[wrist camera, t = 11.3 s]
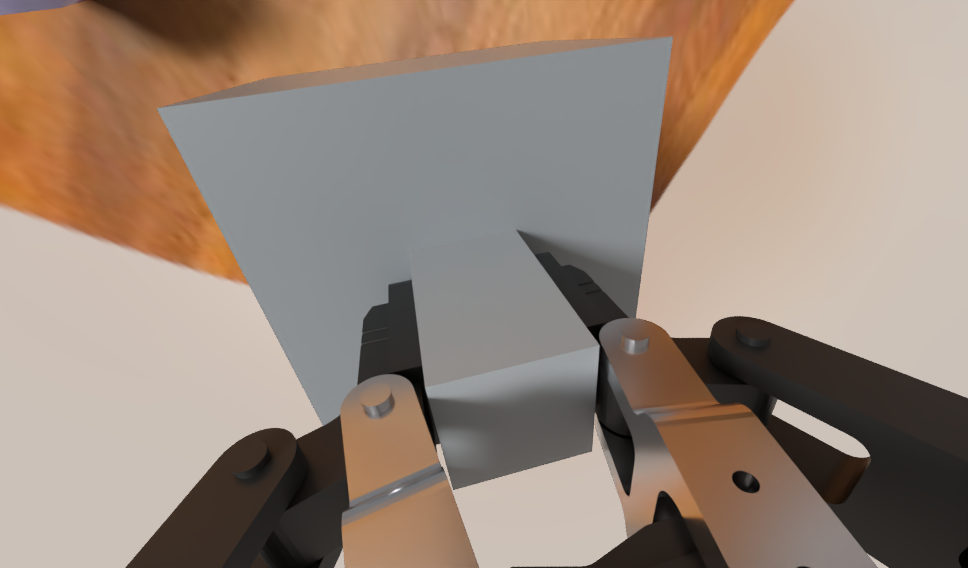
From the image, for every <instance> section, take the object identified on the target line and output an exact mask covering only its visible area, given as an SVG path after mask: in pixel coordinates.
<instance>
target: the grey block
mask: <svg viewBox="0 0 968 568" xmlns="http://www.w3.org/2000/svg"><path fill="white" fill-rule="evenodd" d="M672 40H673V37H645V38H616V39H587V40H558V41H540V42H532V43H525V44H517V45H510V46H502V47H495V48H488V49H480V50H473V51H465V52H458V53H450V54H443V55H436V56H428V57H421V58H413V59H406V60H398V61H391V62H384V63H376V64H369V65H361V66H354V67H346V68H339V69H331V70H324V71H317V72H309V73H302V74H294V75H287V76H279V77H272V78H266V79H262V80H259V81H255V82H251V83H248V84H244V85H241V86H237V87H233V88H230V89H226V90H222V91H219V92H215V93H211V94H208V95H204V96H200V97H197V98H193V99H189V100H186V101H182V102H178V103H175V104H171V105H167V106H164V107H160V108H157V110H158V112H159V114H160V116H161V117H162V119H163V121H164V123H165V125H166V127H167V129H168V131H169V133H170V135H171V137H172V138H173V140H174V142H175V144H176V146H177V148H178V150H179V152H180V154H181V156H182V158H183V159H184V161H185V163H186V165H187V167H188V169H189V171H190V173H191V175H192V177H193V179H194V180H195V182H196V184H197V186H198V188H199V190H200V192H201V194H202V196H203V198H204V200H205V201H206V203H207V205H208V207H209V209H210V211H211V213H212V215H213V217H214V219H215V221H216V222H217V224H218V226H219V228H220V230H221V232H222V234H223V236H224V238H225V240H226V242H227V243H228V245H229V247H230V249H231V251H232V253H233V255H234V257H235V259H236V261H237V263H238V264H239V266H240V268H241V270H242V272H243V274H244V276H245V278H246V280H247V282H248V284H249V285H250V287H251V289H252V291H253V293H254V295H255V297H256V299H257V301H258V303H259V304H260V306H261V308H262V310H263V312H264V314H265V316H266V318H267V320H268V322H269V324H270V326H271V327H272V329H273V331H274V333H275V335H276V337H277V339H278V341H279V343H280V345H281V347H282V348H283V350H284V352H285V354H286V356H287V358H288V360H289V362H290V364H291V366H292V368H293V369H294V371H295V373H296V375H297V377H298V379H299V381H300V383H301V385H302V387H303V388H304V390H305V392H306V394H307V396H308V398H309V400H310V402H311V404H312V405H313V408H314V409H315V411H316V413H317V415H318V417H319V419H320V421H321V423H322V425H323V426H324V425H326V424H327V423H329V422H331V421H332V420H334V419H335V418H337V417H338V416H339V415H340V409H341V405H342V403H343V401H344V399H345V397H346V396H347V395H348V393H349V392H350V391H351V390H352V389H353V388H355V387H356V386H357V382H358V371H359V360H360V349H361V346H362V345H361V339H362V335H363V334H362V328H363V319H364V317H365V316H366V315H367V313H368V312H369V310H370V309H371V308H372V306H376V305H381V304H386V303H388V285H389V284H393V283H398V282H403V281H407V280H412V286H413V294H414V302H415V310H416V318H417V326H418V335H419V343H420V351H421V359H422V367H423V375H424V383H425V389H426V393H427V397H428V400H429V404H430V408H431V411H432V415H433V418H434V422H435V426H436V429H437V433H438V436H439V440H440V444H441V447H442V451H443V455H444V458H445V462H446V465H447V469H448V472H449V476H450V479H451V483H452V487H453V490H455V489H458V488H462V487H466V486H469V485H473V484H477V483H480V482H484V481H487V480H491V479H494V478H498V477H502V476H505V475H508V474H512V473H516V472H519V471H523V470H526V469H530V468H533V467H537V466H541V465H544V464H548V463H552V462H555V461H559V460H562V459H566V458H569V457H573V456H576V455H580V454H584V453H587V452H591V451H592V444H593V429H594V416H595V402H596V388H597V374H598V361H599V347H600V345H599V344H598V342H597V341H596V340H595V338H594V337H593V335H592V334H591V333H590V331H589V330H588V329H587V327H586V326H585V324H584V323H583V322H582V320H581V319H580V318H579V316H578V315H577V313H576V312H575V311H574V309H573V308H572V307H571V305H570V304H569V302H568V301H567V300H566V298H565V297H564V295H563V294H562V293H561V291H560V290H559V289H558V287H557V286H556V284H555V283H554V282H553V280H552V279H551V278H550V276H549V275H548V273H547V272H546V271H545V269H544V268H543V267H542V265H541V264H540V262H539V261H538V260H537V258H536V257H535V255H534V254H539V253H543V252H549V253H550V254H551V255H552V256H553V257H554V258H555V259H556V260H557V262H558V263H559V264H560V265H561V266H565V265H572V266H574V267H576V268H578V269H581V270H583V271H585V272H586V273H587V274H588V275H589V276H590V277H591V278H592V280H593V281H594V283H596V284H597V285H598V286H599V287H600V288H601V289H602V292H603V291H604V292H605V293H606V294H607V295H608V296H609V297H610V298H611V299H612V300H613V301H614V302H615V304H616V305H617V306H618V307H619V308H620V309H621V310H622V311H623V312H624V313H625V314H626V315H627V316H628V317H629V318H636V311H637V304H638V296H639V288H640V281H641V273H642V266H643V258H644V251H645V243H646V236H647V228H648V221H649V213H650V206H651V198H652V191H653V183H654V175H655V168H656V160H657V153H658V145H659V138H660V130H661V123H662V115H663V108H664V100H665V92H666V85H667V77H668V70H669V62H670V55H671V47H672Z"/></svg>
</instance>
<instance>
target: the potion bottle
mask: <svg viewBox="0 0 968 568" xmlns="http://www.w3.org/2000/svg"><path fill="white" fill-rule="evenodd" d="M81 1H85V0H0V15H5V14H13V13H21V12H30V11H38V10H46V9H54V8H62V7H65V6H68V5H72V4H75V3H78V2H81Z"/></svg>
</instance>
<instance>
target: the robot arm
mask: <svg viewBox="0 0 968 568" xmlns="http://www.w3.org/2000/svg"><path fill="white" fill-rule="evenodd" d="M534 255H535V257H536V258H537V260H538V261H539V262H540V264H541V265H542V267H543V268H544V269H545V271H546V272H547V273H548V275H549V276H550V278H551V279H552V280H553V282H554V283H555V284H556V286H557V287H558V289H559V290H560V291H561V293H562V294H563V295H564V297H565V298H566V300H567V301H568V302H569V304H570V305H571V307H572V308H573V309H574V311H575V312H576V313H577V315H578V316H579V318H580V319H581V320H582V322H583V323H584V324H585V326H586V327H587V329H588V330H589V331H590V333H591V334H592V335H593V337H594V338H595V340H596V341H597V342H598V344H599V345H600V347H599V361H598V374H597V388H596V402H595V428H596V431H597V435H598V437H599V440H600V443H601V446H602V449H603V452H604V455H605V458H606V460H607V463H608V466H609V469H610V472H611V475H612V478H613V481H614V484H615V487H616V489H617V492H618V495H619V498H620V501H621V504H622V508H623V511H624V517H625V524H626V532H627V538H628V539H626V540H625V541H624V542H622V543H621V544H619V545H618V546H617V547H615V548H614V549H613V550H611V551H610V552H608V553H607V554H606V555H604V556H603V557H602V558H600V559H599V560H597V561H596V562H595V563H593V564H591V565H588V566H583V567H511V568H878V567H877V566H876V565H875V563H874V562H873V561H872V560H871V559H870V557H869V556H868V555H867V553H868V554H869V555H871V556H872V557H874V558H875V559H877V560H878V561H880V562H881V563H883V564H884V565H886V566H887V567H889V568H968V398H966V397H963V396H960V395H958V394H955V393H952V392H950V391H947V390H945V389H942V388H939V387H937V386H934V385H931V384H929V383H926V382H924V381H921V380H919V379H916V378H913V377H911V376H908V375H906V374H903V373H900V372H898V371H895V370H892V369H890V368H887V367H885V366H882V365H879V364H877V363H874V362H872V361H869V360H866V359H864V358H861V357H859V356H856V355H853V354H850V353H848V352H845V351H843V350H840V349H838V348H835V347H832V346H830V345H827V344H824V343H822V342H819V341H817V340H814V339H811V338H809V337H806V336H803V335H801V334H798V333H796V332H793V331H791V330H788V329H785V328H783V327H780V326H777V325H775V324H772V323H770V322H767V321H764V320H761V319H756V318H751V317H743V316H742V317H741V316H737V317H736V316H735V317H727V318H724V319H721V320H719V321H718V322H716V323H715V324H714V326H713V328H712V331H711V336H710V338H671V337H670V336H669V335H668V333H667V332H666V331H665V330H664V329H663V328H661V327H660V326H658V325H656V324H654V323H652V322H649V321H646V320H642V319H636V318H629V317H628V316H627V315H626V314H625V313H624V312H623V311H622V310H621V309H620V308H619V307H618V306H617V305H616V304H615V302H614V301H613V300H612V299H611V298H610V297H609V296H608V295H607V294H606V293H605V292H604V291H603V292H602V289H601V288H600V287H599V286H598V285H597V284H596V283H594V281H593V280H592V278H591V277H590V276H589V275H588V274H587V273H586V272H585V271H583V270H581V269H578V268H576V267H574V266H572V265H565V266H561V265H560V264H559V263H558V262H557V260H556V259H555V258H554V257H553V256H552V255H551V254H550V253H549V252H543V253H539V254H534ZM362 334H363V335H362V339H361V345H362V346H361V349H360V360H359V371H358V382H357V386H356V387H355V388H353V389H352V390H351V391H350V392H349V393H348V395H347V396H346V397H345V399H344V401H343V403H342V405H341V409H340V415H339V416H338V417H337V418H335V419H334V420H332V421H331V422H329V423H327V424H326V425H324V426H322V427H320V428H318V429H316V430H314V431H312V432H311V433H308V434H306V435H304V436H302V437H300V438H298V439H297V440H296V439H295V437H294V436H293V434H292V433H290V432H289V431H287V430H285V429H280V428H270V429H264V430H260V431H257V432H255V433H252V434H250V435H248V436H246V437H244V438H243V439H241V440H239V441H238V442H236V443H235V444H234V445H232V446H231V447H230V448H229V449H227V450H226V451H225V452H224V453H223V454H222V455H221V456H220V457H219V458H218V460H217V461H216V462H215V463H214V464H213V465H212V467H211V468H210V469H209V470H208V471H207V473H206V474H205V475H204V476H203V477H202V479H201V480H200V481H199V482H198V483H197V484H196V486H195V487H194V488H193V489H192V490H191V491H190V493H189V494H188V495H187V496H186V497H185V498H184V500H183V501H182V502H181V503H180V504H179V505H178V507H177V508H176V509H175V510H174V511H173V513H172V514H171V515H170V516H169V517H168V519H167V520H166V521H165V522H164V523H163V524H162V525H161V527H160V528H159V529H158V530H157V531H156V532H155V534H154V535H153V536H152V537H151V538H150V540H149V541H148V542H147V543H146V544H145V545H144V547H143V548H142V549H141V550H140V551H139V552H138V554H137V555H136V556H135V557H134V559H133V560H132V561H131V562H130V563H129V564H128V565H127V567H126V568H334V566H335V564H336V562H337V560H338V558H339V556H340V553H341V551H342V548H343V552H344V564H345V568H479V566H478V563H477V560H476V558H475V555H474V552H473V549H472V546H471V543H470V541H469V538H468V535H467V532H466V529H465V527H464V524H463V521H462V518H461V515H460V513H459V510H458V507H457V504H456V502H455V499H454V496H453V493H452V490H451V487H450V485H449V482H448V479H447V476H446V474H445V471H444V469H443V467H441V464H440V462H439V459H438V456H437V450H436V444H440V440H439V436H438V433H437V429H436V426H435V422H434V418H433V415H432V411H431V408H430V404H429V400H428V397H427V393H426V389H425V383H424V375H423V367H422V359H421V351H420V343H419V335H418V326H417V318H416V310H415V302H414V294H413V286H412V280H407V281H403V282H398V283H393V284H389V285H388V303H386V304H381V305H376V306H372V308H371V309H370V310H369V312H368V313H367V315H366V316H365V317H364V319H363V328H362ZM777 399H779V400H781V401H783V402H785V403H787V404H789V405H791V406H793V407H795V408H797V409H799V410H801V411H803V412H805V413H807V414H809V415H811V416H813V417H815V418H817V419H819V420H821V421H823V422H825V423H827V424H829V425H830V426H833V427H834V428H837V429H838V430H840V431H843V432H844V433H846V434H848V435H850V436H852V437H854V438H855V439H857V440H858V441H859V442H860V443H862V444H863V445H864V447H865V448H866V449H867V450H868V452H869V454H870V457H867V458H858V457H853V456H850V455H847V454H845V453H843V452H841V451H839V450H837V449H835V448H833V447H832V446H830V445H828V444H826V443H824V442H822V441H820V440H818V439H817V438H815V437H813V436H811V435H809V434H807V433H805V432H804V431H801V430H800V429H798V428H796V427H794V426H792V425H790V424H788V423H787V422H785V421H783V420H781V419H779V418H777V417H776V416H774V415H772V412H773V409H774V407H775V404H776V402H777Z"/></svg>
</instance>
